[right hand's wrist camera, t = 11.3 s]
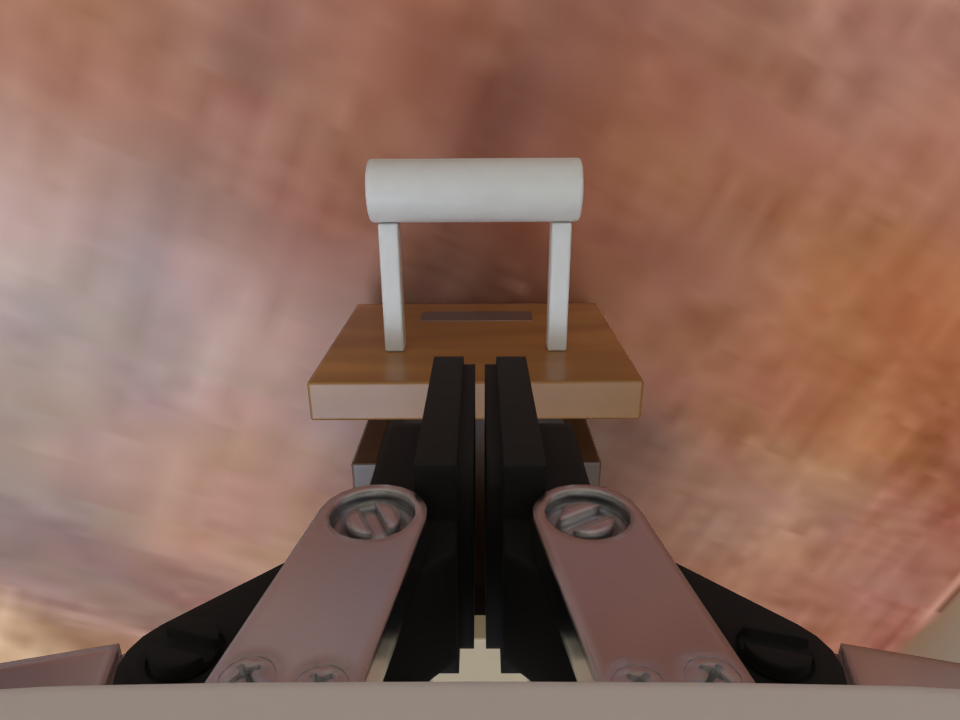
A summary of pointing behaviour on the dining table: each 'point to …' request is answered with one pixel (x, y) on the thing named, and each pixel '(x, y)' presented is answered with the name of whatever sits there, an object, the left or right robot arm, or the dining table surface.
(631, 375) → the drawer
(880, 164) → the dining table surface
